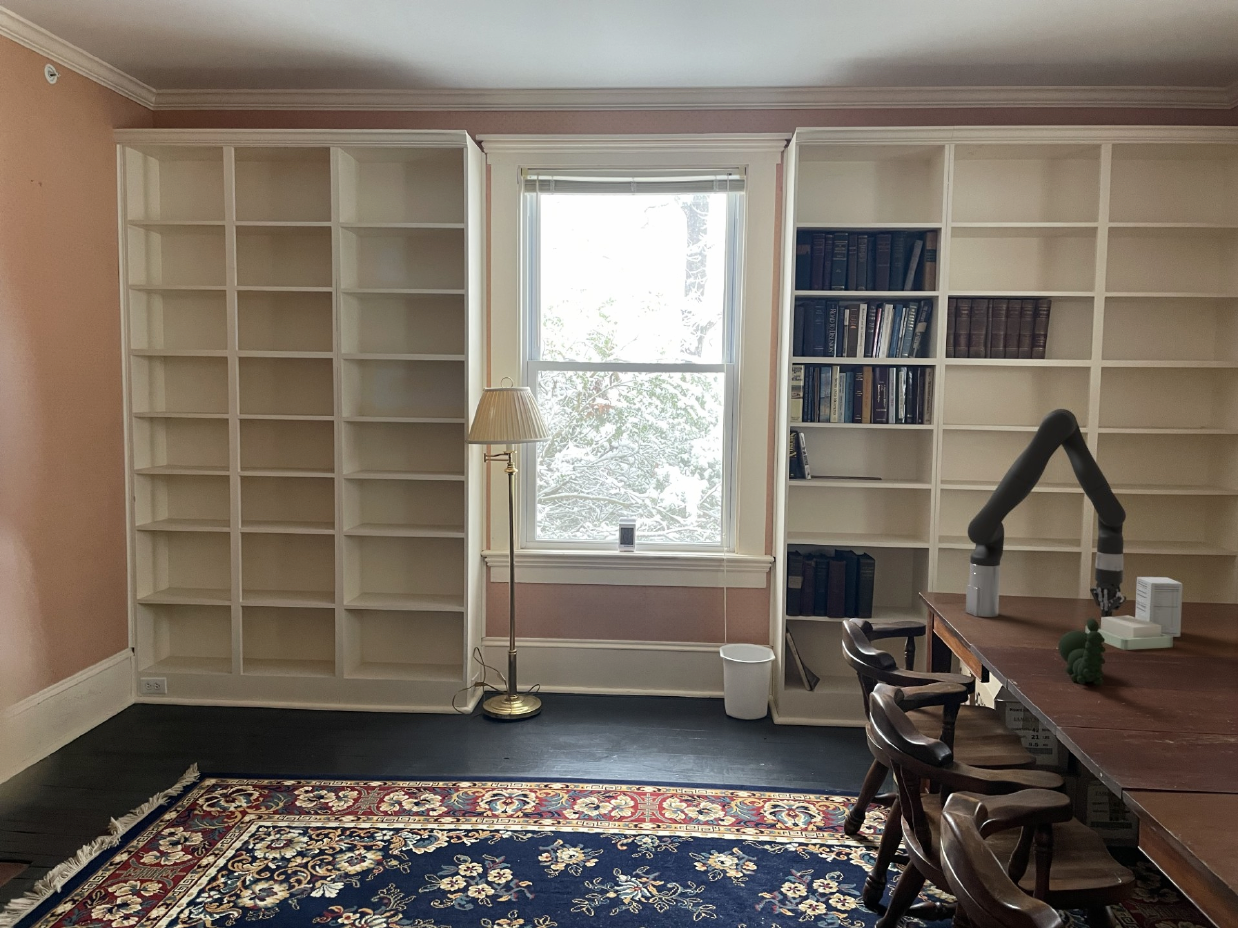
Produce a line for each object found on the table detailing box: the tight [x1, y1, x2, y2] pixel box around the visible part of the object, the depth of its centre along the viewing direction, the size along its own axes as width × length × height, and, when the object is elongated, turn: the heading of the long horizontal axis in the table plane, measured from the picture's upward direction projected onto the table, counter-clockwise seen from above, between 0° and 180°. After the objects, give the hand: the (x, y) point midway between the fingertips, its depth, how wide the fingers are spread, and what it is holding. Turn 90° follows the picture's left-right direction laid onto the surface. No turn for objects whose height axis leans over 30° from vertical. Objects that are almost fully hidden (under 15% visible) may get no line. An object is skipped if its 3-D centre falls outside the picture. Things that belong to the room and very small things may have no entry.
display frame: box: [1084, 625, 1174, 651], centre depth 257 cm, size 16×16×3 cm
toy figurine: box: [1057, 617, 1107, 686], centre depth 222 cm, size 9×19×25 cm
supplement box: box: [1134, 576, 1183, 638], centre depth 265 cm, size 10×9×17 cm
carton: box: [1100, 614, 1161, 638], centre depth 258 cm, size 10×12×6 cm
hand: (1106, 621), depth 265 cm, fingers closed
